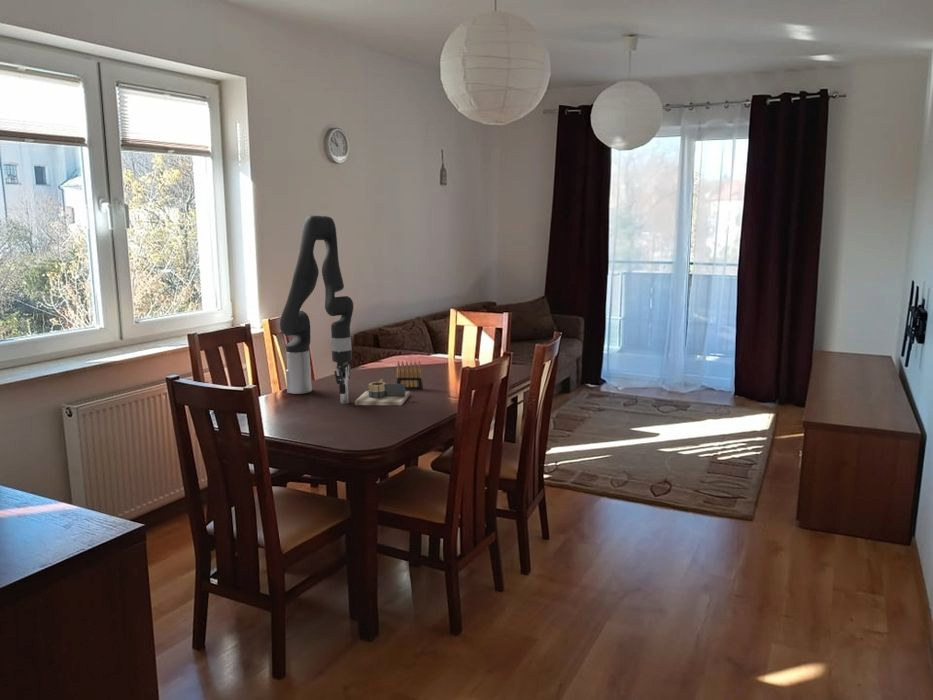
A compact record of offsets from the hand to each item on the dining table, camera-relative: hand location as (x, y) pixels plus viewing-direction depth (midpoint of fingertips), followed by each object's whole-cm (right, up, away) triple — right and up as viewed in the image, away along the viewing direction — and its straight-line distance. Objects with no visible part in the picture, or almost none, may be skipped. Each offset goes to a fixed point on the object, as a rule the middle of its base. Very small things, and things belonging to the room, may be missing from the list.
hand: (344, 392), depth 283 cm
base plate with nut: (+15, -3, +4) cm, 15 cm away
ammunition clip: (+24, 0, +20) cm, 31 cm away
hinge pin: (0, -4, +1) cm, 4 cm away
